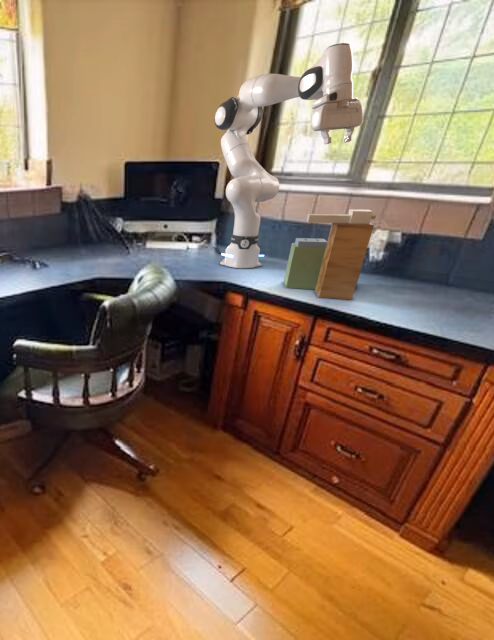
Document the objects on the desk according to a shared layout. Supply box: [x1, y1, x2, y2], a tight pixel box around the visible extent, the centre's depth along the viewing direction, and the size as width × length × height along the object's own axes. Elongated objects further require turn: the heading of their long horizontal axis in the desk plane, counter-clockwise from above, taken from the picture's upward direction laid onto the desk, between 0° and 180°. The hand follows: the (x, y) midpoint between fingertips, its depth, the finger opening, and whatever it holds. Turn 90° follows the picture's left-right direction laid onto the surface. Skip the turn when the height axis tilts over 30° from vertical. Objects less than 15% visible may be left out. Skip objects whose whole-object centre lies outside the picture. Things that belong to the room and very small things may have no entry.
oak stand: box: [314, 222, 375, 300], centre depth 152 cm, size 8×11×26 cm
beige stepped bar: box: [306, 208, 377, 224], centre depth 146 cm, size 5×21×4 cm, turn 74°
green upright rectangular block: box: [283, 237, 328, 290], centre depth 166 cm, size 8×12×18 cm, turn 74°
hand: (337, 142), depth 148 cm, fingers open, 8 cm apart
